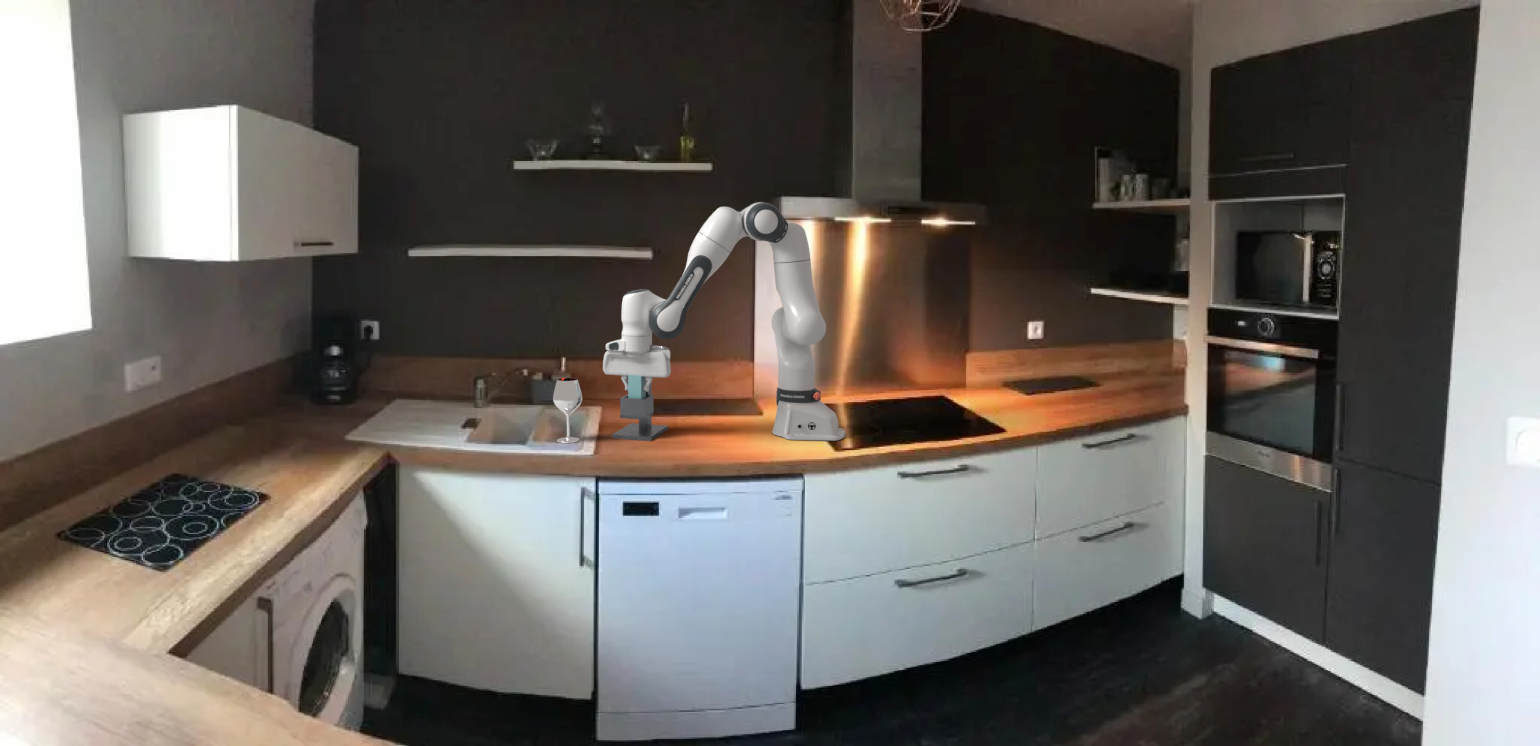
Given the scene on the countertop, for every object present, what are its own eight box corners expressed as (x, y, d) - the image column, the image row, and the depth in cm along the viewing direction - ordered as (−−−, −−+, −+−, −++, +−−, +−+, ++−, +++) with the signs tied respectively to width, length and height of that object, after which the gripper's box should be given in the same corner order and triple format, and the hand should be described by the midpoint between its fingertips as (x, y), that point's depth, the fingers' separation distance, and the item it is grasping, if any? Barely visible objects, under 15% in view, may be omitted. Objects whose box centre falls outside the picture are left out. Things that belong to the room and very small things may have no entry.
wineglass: (577, 436, 256) (576, 376, 253) (586, 441, 249) (586, 380, 246) (550, 439, 252) (548, 378, 249) (559, 445, 245) (558, 382, 242)
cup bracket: (668, 429, 267) (668, 381, 265) (650, 441, 252) (650, 390, 249) (631, 426, 269) (631, 379, 267) (611, 438, 254) (611, 388, 252)
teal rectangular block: (645, 406, 258) (645, 373, 256) (641, 409, 254) (641, 375, 252) (633, 406, 259) (633, 373, 257) (628, 408, 255) (628, 375, 253)
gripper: (673, 344, 254) (673, 390, 256) (608, 341, 258) (609, 387, 261) (667, 347, 248) (667, 394, 250) (600, 344, 252) (601, 390, 254)
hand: (637, 390), depth 255 cm, fingers closed on teal rectangular block, 4 cm apart
